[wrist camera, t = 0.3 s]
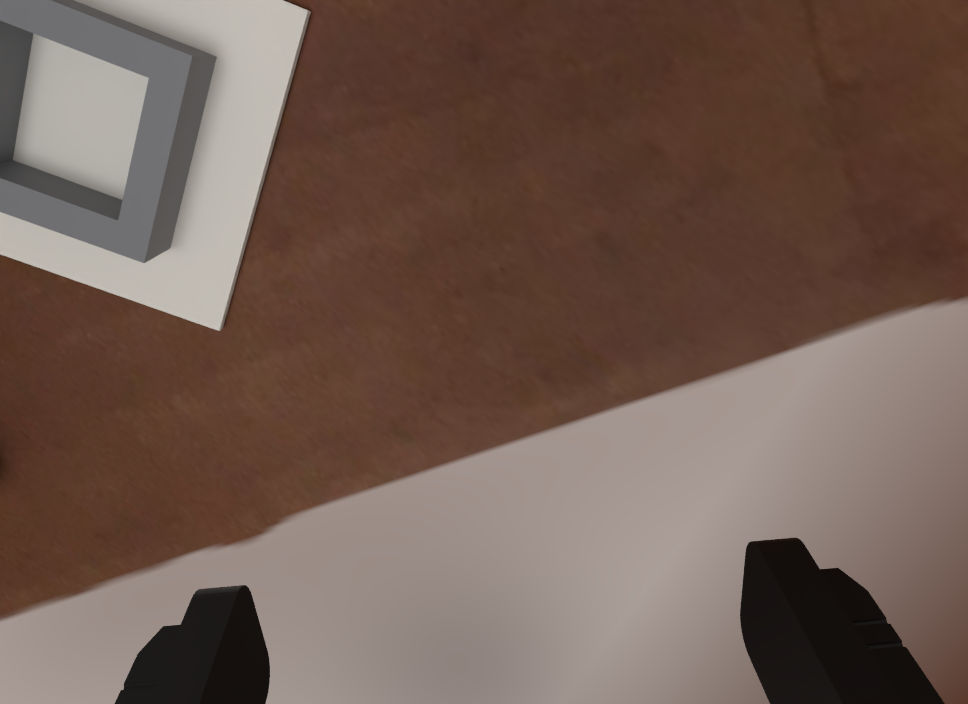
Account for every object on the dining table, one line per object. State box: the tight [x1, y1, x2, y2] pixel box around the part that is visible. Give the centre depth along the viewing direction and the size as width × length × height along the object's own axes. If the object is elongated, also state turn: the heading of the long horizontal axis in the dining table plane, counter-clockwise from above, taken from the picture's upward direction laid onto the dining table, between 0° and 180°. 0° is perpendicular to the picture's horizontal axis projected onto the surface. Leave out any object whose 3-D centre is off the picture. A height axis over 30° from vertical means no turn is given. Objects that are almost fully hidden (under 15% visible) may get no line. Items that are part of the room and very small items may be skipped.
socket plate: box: [0, 0, 311, 331], centre depth 34 cm, size 16×16×4 cm
